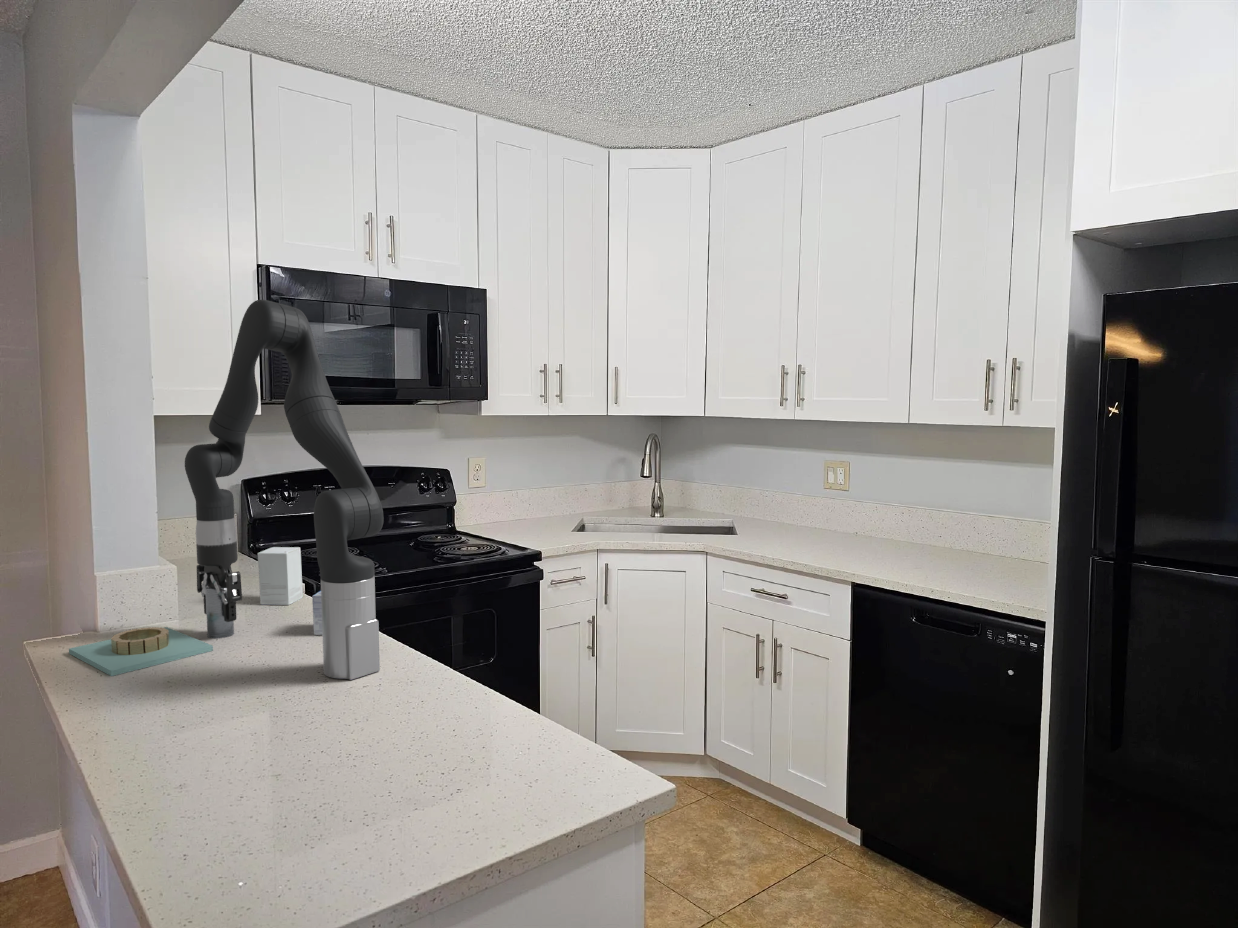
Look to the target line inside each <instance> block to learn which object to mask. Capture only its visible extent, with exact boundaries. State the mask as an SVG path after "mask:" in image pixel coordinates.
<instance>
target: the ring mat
mask: <svg viewBox="0 0 1238 928" xmlns="http://www.w3.org/2000/svg"><path fill="white" fill-rule="evenodd" d="M164 628H165V629H167V630H169V644H168V646H167V647H165V648H163V649H160V650H158V651H153V652H149V653H144V654H136V655H118V654H115V653H113V652H112V644H111V639H106V640H102V641H97V642H92V643H88V644H83V645H79V646H73V647H69V648H68V654H69V655H70V656H73V657H75V658H76V659H78V660H81V661H82V662H83V663H86V664H88V665H90V666H91V667H93V668H95V669H97V670H99V671H101V672H103V673H104V674H106V675H108V676H110V677H114V676H118V675H121V674H125V673H129V672H133V671H137V670H140V669H145V668H148V667H153V666H158V665H161V664H165V663H169V662H172V661H177V660H181V659H186V658H188V657H194V656H196V655H202V654H205V653H209V652H212V651H214V649H213V648H214V646H213V645H212V644H209V643H207V642H204V641H202V640H200V639H198V638H195V637H193V636H190V635H187V634H185V633H184V632H183V633H182V632H180V631H178V630H176V629H173V628H170V627H168V626H166V627H165V626H164Z"/></svg>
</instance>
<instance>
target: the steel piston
mask: <svg viewBox="0 0 1238 928" xmlns="http://www.w3.org/2000/svg"><path fill="white" fill-rule="evenodd" d="M205 594H206V614H205V615H206V629H207V630H206V631H207V632H206V633H207V638H209V639H223V638H224V639H225V638H229V637H231V636H234V634H235V621H230V622H226V621H224V602H223V600H222V597H221V596H220V595H218V594H217V591H216V589H214V588H211V587H207V588H205ZM226 596H227V594H226Z"/></svg>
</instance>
